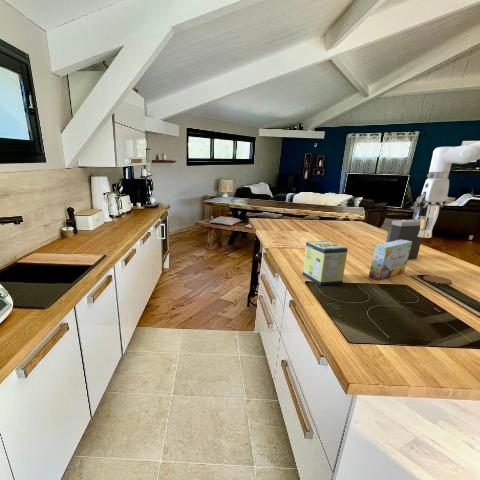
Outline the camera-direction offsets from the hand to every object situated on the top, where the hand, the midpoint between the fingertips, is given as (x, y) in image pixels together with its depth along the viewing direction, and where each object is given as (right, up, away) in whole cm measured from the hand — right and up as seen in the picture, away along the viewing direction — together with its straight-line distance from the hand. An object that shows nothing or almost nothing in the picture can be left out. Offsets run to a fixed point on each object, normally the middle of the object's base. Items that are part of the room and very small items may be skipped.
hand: (428, 215), depth 149 cm
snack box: (-24, -29, -6) cm, 38 cm away
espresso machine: (0, -18, +21) cm, 28 cm away
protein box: (-56, -31, -10) cm, 64 cm away
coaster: (-7, -32, -14) cm, 35 cm away
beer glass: (0, -10, +4) cm, 10 cm away
